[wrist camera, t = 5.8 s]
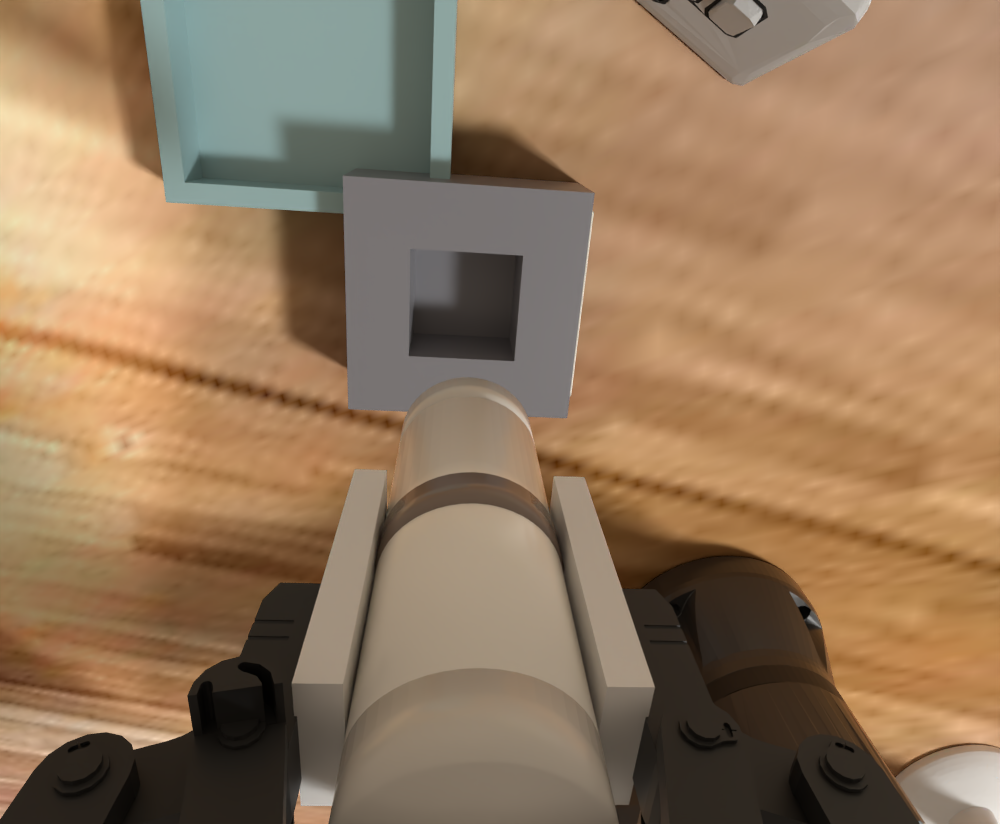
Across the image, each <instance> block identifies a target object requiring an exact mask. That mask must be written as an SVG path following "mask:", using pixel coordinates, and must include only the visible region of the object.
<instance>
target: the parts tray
mask: <svg viewBox="0 0 1000 824" xmlns="http://www.w3.org/2000/svg"><path fill="white" fill-rule="evenodd" d="M140 3H141V10H142V18H143V26H144V34H145V41H146V49H147V57H148V65H149V73H150V80H151V88H152V96H153V104H154V111H155V119H156V127H157V135H158V143H159V150H160V158H161V166H162V174H163V181H164V189H165V197H166V202H171V203H186V204H202V205H217V206H233V207H249V208H264V209H280V210H296V211H311V212H327V213H342V214H344V209H343V175H345V174H347V173H349V172H350V171H352V170H354V169H356V168H359V169H374V170H388V171H403V172H417V173H430V178H439V179H450V176H451V157H452V131H453V105H454V78H455V52H456V26H457V0H140Z"/></svg>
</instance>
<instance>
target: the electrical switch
mask: <svg viewBox="0 0 1000 824" xmlns="http://www.w3.org/2000/svg"><path fill="white" fill-rule="evenodd" d="M636 1H638V2H639V3H640V4H641V5H642V6H643V7H644V8H646V9H647V10H648V11H649V12H650V13H651V14H652V15H654V16H655V17H656V18H657V19H658V20H659V21H660V22H662V23H663V24H664V25H665V26H666V27H667V28H668V29H670V30H671V31H672V32H673V33H674V34H675V35H676V36H677V37H679V38H680V39H681V40H682V41H683V42H684V43H685V44H687V45H688V46H689V47H690V48H691V49H692V50H693V51H695V52H696V53H697V54H698V55H699V56H700V57H701V58H703V59H704V60H705V61H706V62H707V63H708V64H709V65H711V66H712V67H713V68H714V69H715V70H716V71H717V72H719V73H720V74H721V75H722V76H723V77H724V78H725V79H727V80H728V81H729V82H730V83H732V84H736V85H741V86H743V85H745V84H746V83H748V82H750V81H752V80H754V79H756V78H758V77H760V76H762V75H763V74H765V73H767V72H769V71H771V70H773V69H775V68H777V67H779V66H781V65H783V64H785V63H787V62H789V61H791V60H793V59H795V58H797V57H799V56H801V55H803V54H805V53H807V52H809V51H810V50H812V49H814V48H816V47H818V46H820V45H822V44H824V43H826V42H828V41H830V40H832V39H834V38H836V37H838V36H840V35H842V34H844V33H846V32H848V31H850V30H852V29H854V28H855V26H856V25H857V23H858V22H859V21H860V19H861V18H862V17H863V15H864V14H865V13H866V11H867V10H868V8H869V5H870V3H871V0H636Z"/></svg>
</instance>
